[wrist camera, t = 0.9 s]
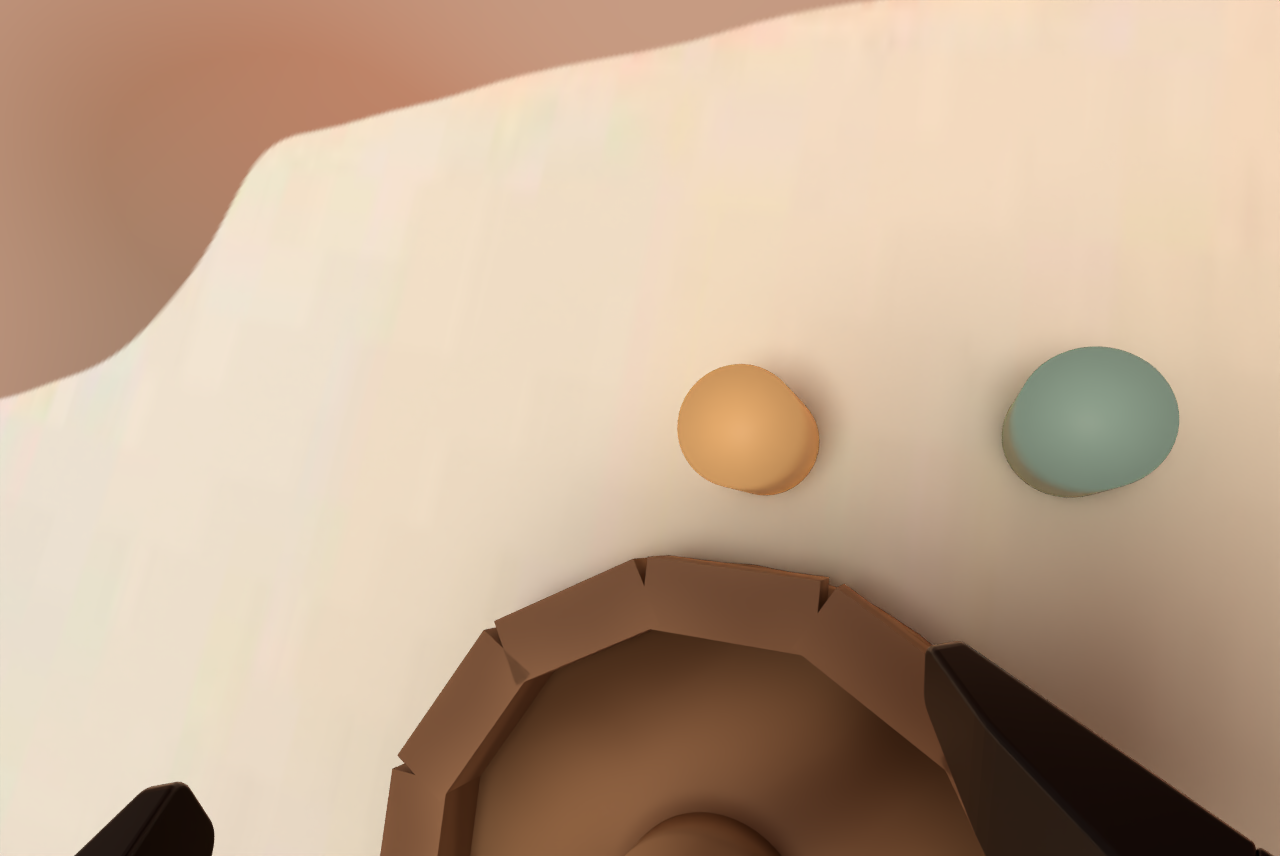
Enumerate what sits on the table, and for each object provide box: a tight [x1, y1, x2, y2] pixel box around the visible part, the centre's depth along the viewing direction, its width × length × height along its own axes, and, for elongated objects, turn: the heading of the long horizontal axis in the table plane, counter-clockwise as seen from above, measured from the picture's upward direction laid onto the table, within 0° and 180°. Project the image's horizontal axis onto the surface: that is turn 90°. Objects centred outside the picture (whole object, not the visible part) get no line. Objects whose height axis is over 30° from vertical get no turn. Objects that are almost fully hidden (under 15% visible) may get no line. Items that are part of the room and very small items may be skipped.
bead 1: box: [677, 364, 819, 495], centre depth 24 cm, size 3×3×4 cm
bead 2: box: [1002, 347, 1179, 498], centre depth 21 cm, size 3×3×4 cm
